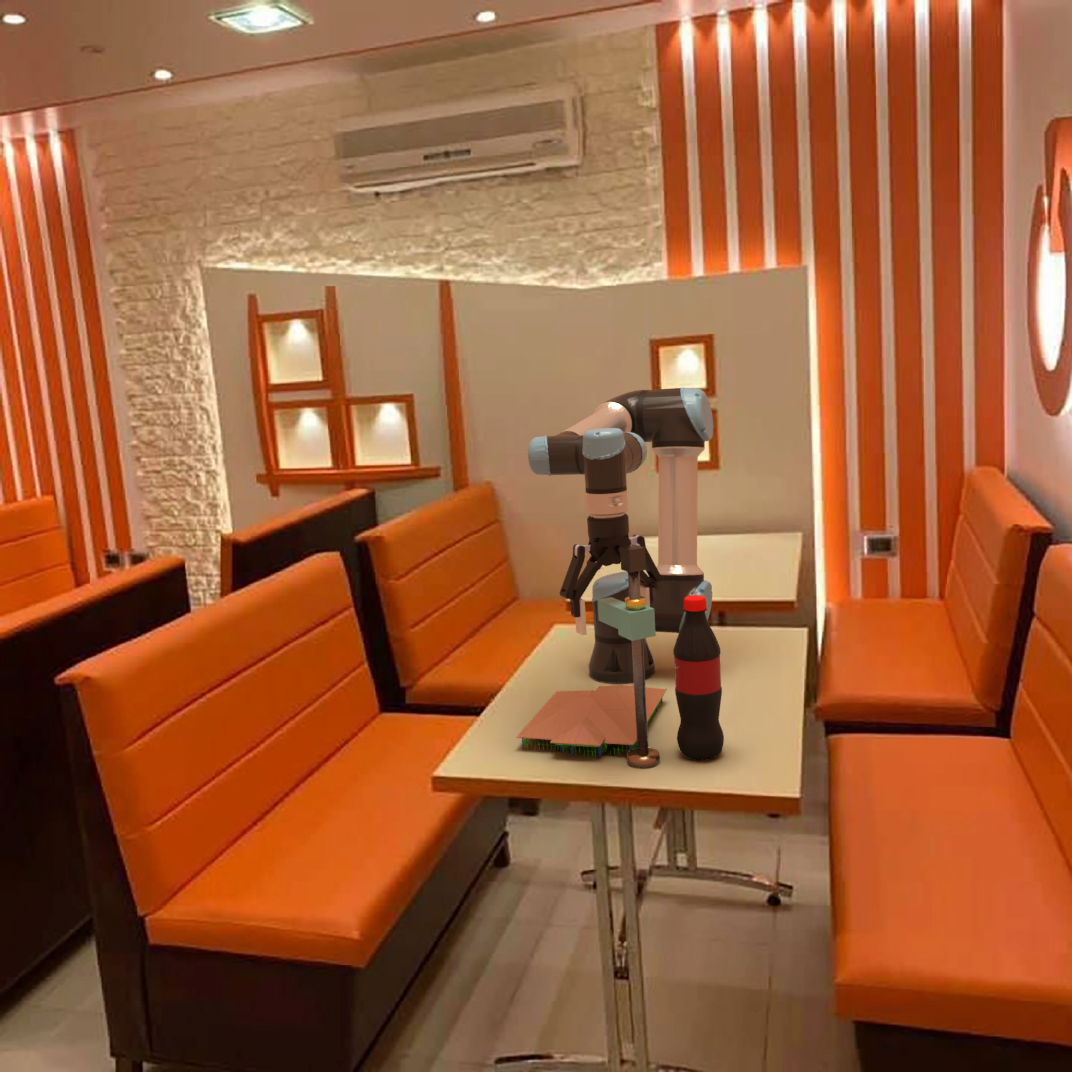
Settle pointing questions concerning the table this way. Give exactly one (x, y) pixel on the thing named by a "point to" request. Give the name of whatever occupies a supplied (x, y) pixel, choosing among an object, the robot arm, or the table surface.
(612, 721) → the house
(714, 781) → the table surface
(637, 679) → the post stand
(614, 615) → the teal block with hole
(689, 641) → the cola bottle
